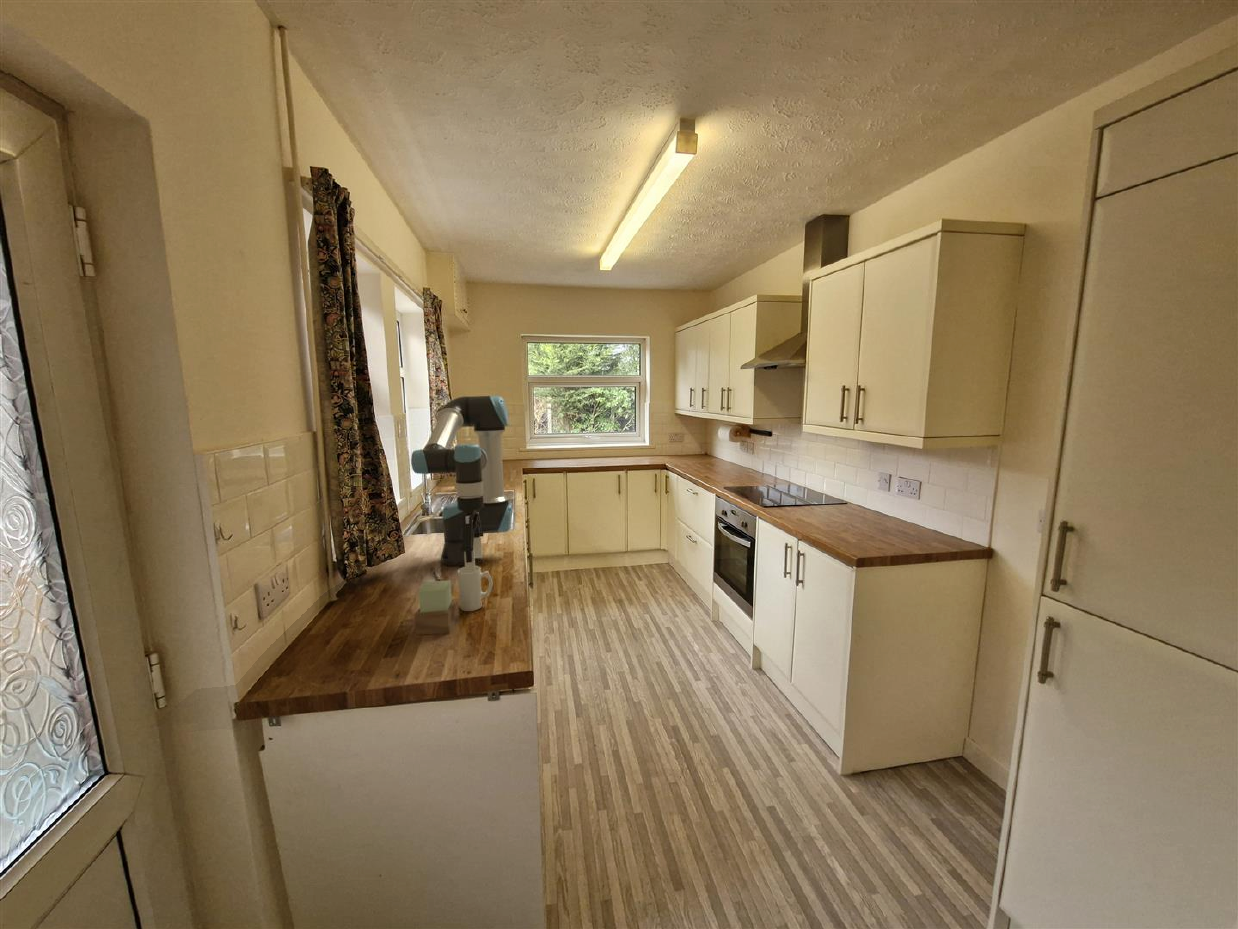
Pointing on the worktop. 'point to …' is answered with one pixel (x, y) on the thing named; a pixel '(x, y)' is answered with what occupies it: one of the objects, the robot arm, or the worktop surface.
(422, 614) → the base brick
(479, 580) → the mug
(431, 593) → the sage brick
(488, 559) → the worktop surface
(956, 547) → the worktop surface
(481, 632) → the worktop surface
